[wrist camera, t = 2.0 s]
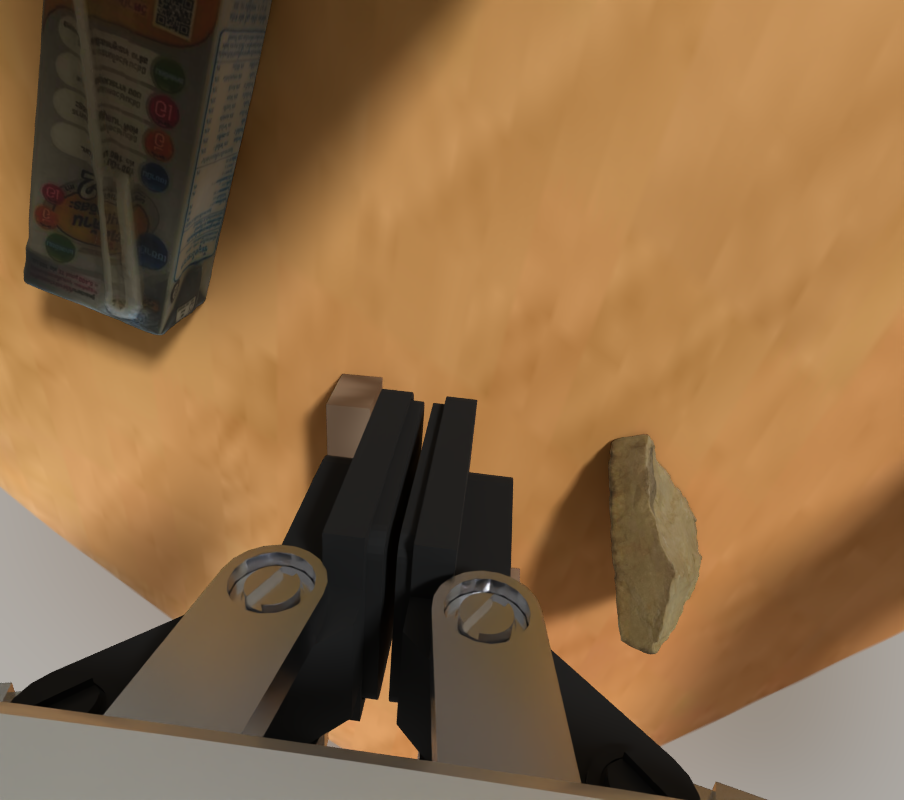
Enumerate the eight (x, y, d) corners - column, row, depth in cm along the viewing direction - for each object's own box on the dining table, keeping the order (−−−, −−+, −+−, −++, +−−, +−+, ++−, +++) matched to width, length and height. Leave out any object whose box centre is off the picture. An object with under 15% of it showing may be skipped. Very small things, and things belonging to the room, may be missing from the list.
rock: (572, 434, 40) (541, 577, 44) (689, 504, 34) (642, 665, 37) (689, 416, 46) (654, 542, 50) (808, 472, 40) (758, 613, 43)
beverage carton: (78, 253, 40) (4, 289, 34) (125, -127, 31) (35, -165, 25) (209, 304, 41) (158, 347, 35) (290, -53, 32) (240, -74, 26)
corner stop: (545, 393, 41) (547, 426, 38) (516, 590, 49) (516, 632, 45) (342, 373, 42) (326, 404, 38) (345, 571, 50) (331, 612, 46)
